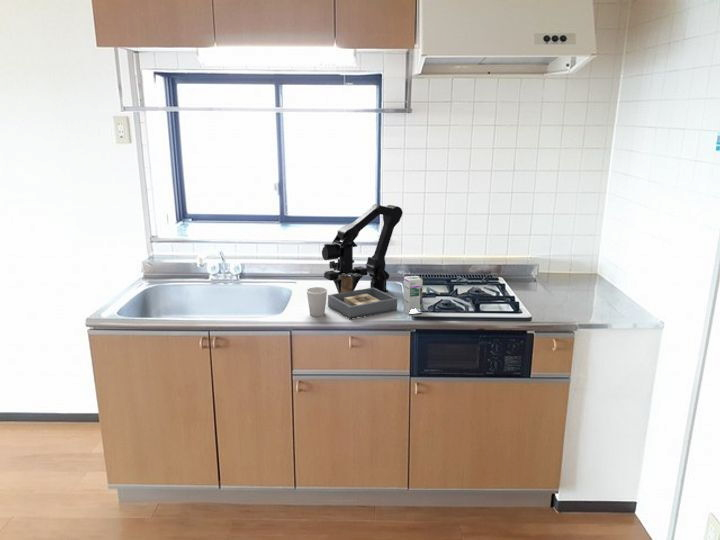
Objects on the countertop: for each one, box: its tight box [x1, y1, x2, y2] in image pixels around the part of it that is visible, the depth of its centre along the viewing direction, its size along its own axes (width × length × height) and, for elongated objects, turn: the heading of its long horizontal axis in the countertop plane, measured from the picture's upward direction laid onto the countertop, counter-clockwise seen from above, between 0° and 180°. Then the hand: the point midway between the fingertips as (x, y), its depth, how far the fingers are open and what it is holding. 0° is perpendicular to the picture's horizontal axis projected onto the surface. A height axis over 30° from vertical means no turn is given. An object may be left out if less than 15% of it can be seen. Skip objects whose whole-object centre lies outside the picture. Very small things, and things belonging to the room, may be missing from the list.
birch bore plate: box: [344, 294, 381, 306], centre depth 218 cm, size 11×11×3 cm
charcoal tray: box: [327, 287, 398, 320], centre depth 218 cm, size 22×18×5 cm
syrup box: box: [403, 275, 424, 315], centre depth 213 cm, size 6×6×14 cm
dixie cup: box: [305, 286, 328, 317], centre depth 211 cm, size 8×8×10 cm
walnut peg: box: [340, 275, 352, 293], centre depth 233 cm, size 4×4×9 cm
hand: (346, 292), depth 234 cm, fingers open, 6 cm apart
